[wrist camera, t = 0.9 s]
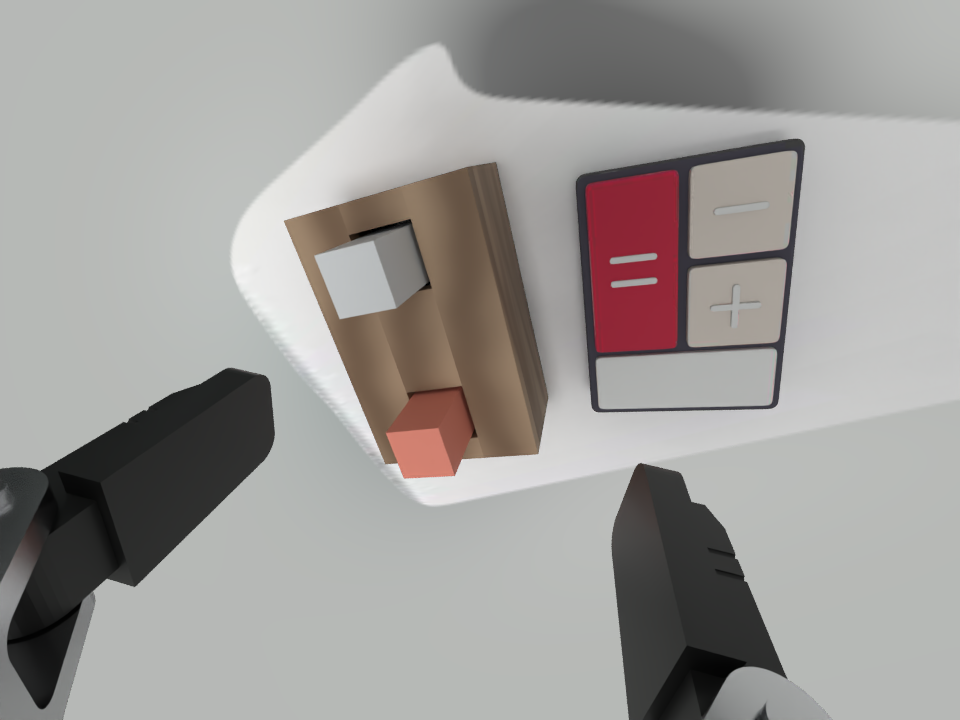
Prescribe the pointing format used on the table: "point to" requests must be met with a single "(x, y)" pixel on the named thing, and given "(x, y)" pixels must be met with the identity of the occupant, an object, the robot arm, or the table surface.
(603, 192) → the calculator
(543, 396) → the block
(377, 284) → the grey plug
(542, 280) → the table surface
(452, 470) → the red plug
